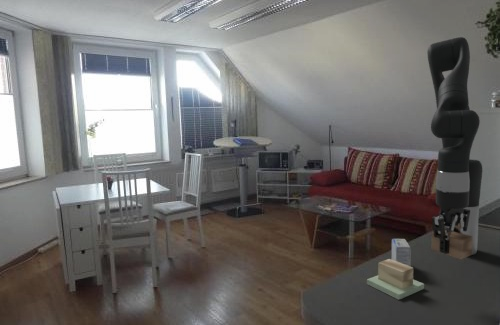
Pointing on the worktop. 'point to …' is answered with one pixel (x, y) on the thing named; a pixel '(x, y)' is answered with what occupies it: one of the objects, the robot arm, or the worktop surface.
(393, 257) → the medicine box
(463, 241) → the walnut brick
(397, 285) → the birch brick
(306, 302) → the worktop surface
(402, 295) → the baseplate
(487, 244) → the worktop surface
